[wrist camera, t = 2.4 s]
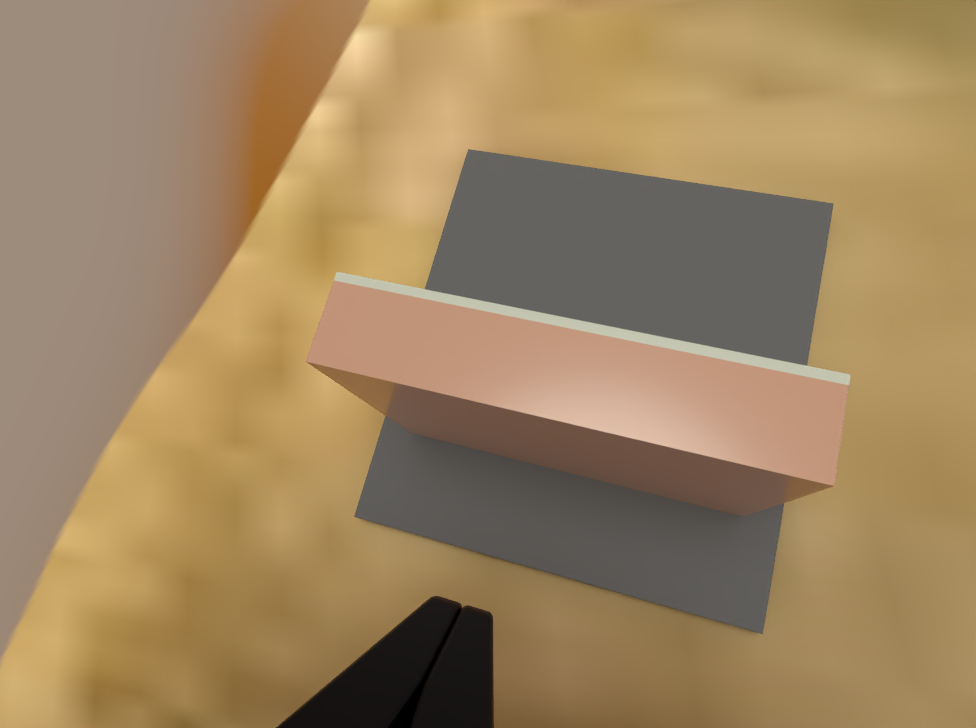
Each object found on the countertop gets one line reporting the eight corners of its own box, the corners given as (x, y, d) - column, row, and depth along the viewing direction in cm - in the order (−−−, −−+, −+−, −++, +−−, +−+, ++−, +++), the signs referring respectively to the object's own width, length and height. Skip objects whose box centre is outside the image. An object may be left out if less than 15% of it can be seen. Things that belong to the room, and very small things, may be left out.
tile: (742, 516, 19) (834, 485, 12) (411, 433, 21) (306, 361, 14) (755, 448, 20) (850, 374, 12) (429, 373, 22) (336, 271, 14)
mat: (757, 631, 19) (762, 634, 18) (360, 517, 21) (354, 516, 21) (827, 213, 22) (833, 203, 21) (471, 159, 24) (468, 149, 24)
